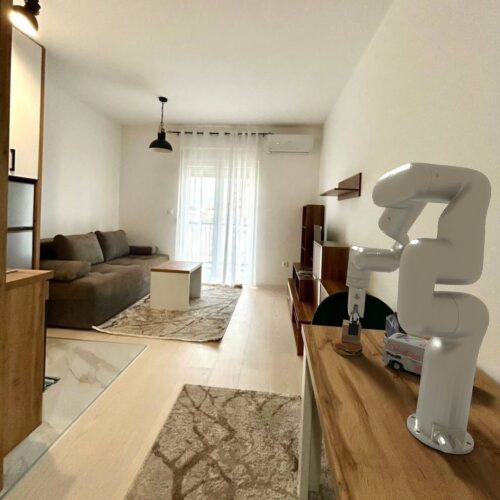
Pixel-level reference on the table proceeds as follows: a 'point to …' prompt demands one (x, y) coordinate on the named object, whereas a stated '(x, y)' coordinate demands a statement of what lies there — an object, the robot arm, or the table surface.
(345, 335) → the light brown cube
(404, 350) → the toy car
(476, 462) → the table surface
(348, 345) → the burger
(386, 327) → the decorative emblem
